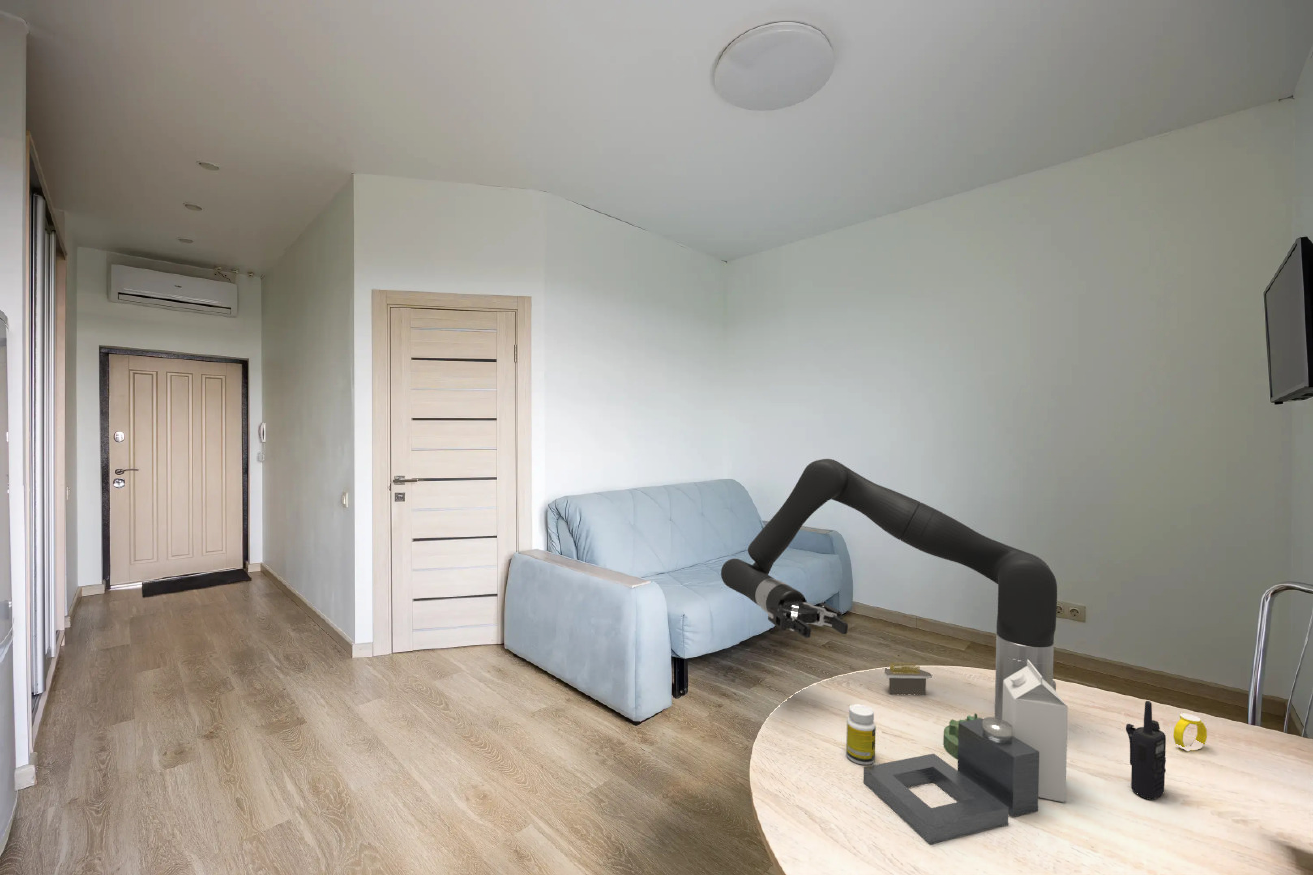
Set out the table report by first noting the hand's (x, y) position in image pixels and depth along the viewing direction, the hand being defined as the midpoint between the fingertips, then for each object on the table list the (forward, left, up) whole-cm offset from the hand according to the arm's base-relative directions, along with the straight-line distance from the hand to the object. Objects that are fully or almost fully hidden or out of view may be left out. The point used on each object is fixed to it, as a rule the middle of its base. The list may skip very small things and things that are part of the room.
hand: (827, 631), depth 105 cm
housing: (-7, +23, -19) cm, 30 cm away
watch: (-60, +24, -19) cm, 68 cm away
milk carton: (-22, +24, -19) cm, 38 cm away
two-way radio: (-38, +30, -19) cm, 52 cm away
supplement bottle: (0, +10, -19) cm, 21 cm away
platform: (-26, -8, -19) cm, 33 cm away
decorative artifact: (-21, +14, -19) cm, 32 cm away
